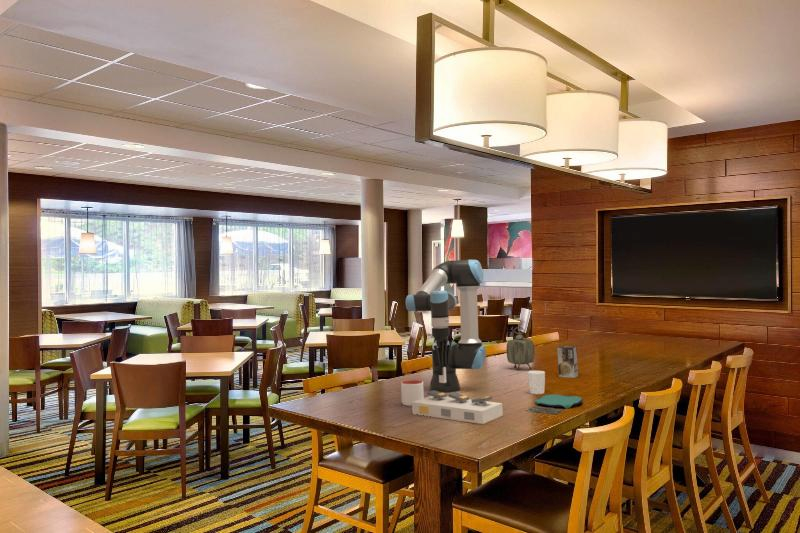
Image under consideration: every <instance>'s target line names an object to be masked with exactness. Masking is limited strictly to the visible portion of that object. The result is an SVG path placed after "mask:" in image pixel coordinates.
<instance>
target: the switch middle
mask: <svg viewBox="0 0 800 533" xmlns="http://www.w3.org/2000/svg"><path fill="white" fill-rule="evenodd" d="M448 397H450V398H453V399H456V400H459V401H461V402H464V401H467V400H469V399H470V396H467V395H465V394H462V393H459V392H456V391H453V392H451V393H448Z"/></svg>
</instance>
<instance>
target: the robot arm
mask: <svg viewBox="0 0 800 533" xmlns="http://www.w3.org/2000/svg"><path fill="white" fill-rule="evenodd" d="M483 282H484V271H483V267H482V264H481V262H480V261H479V260H477V259H458V260H457V259H456V260H455V259H454V260H447V261H443V262H441V263H439V264H437V265H436V266H435V267H433V268H432V270H431V271H430V272H429V274H428V278H427V279H426V280H425V282H424V283H423V284H422V286H420V288H419V289H418V290H417V292H416V293H415V294H409V295H407V296H406V297H405V309H406V310H407V311H409V312H415V313H417V312H430V314H431V316H430V317H431V318H430V320H431V322H430V324H431V327H432V328H431V337H433V344H431V345H430V347H429V348H430V349H431V358H432V360H431V362H432V375H431V376H432V377H431V379H430V384H429V390H430V391H431V390H432V391H433V390H435V391H438V392H442V393H450V392H449V391H452V392H456V391H460V390H461V384H460V381H459V378H458V375H457V370H472V371H473V370H480V369H482V368H483V367H484V364H485V360H486V357H487V356H486V355H487V354H486V353H487V351H486V350H487V349H486V346H485V345H483V343H482V340H481V339H480V338H479V315H478V311H479V310H478V308H479V307H478V290H479V288H480V287H481V284H482V283H483ZM448 284H454V285H455V284H456V285H455V286H456V289H458V290H459V311H460V313H459V314H460V340H459V341H458V342H457V344H458V345H456V343H455V342H453V341H449V338H448V337H449V336H450V327H449V326H450V318H449V317H450V316H449V314H450V313H449V312H450V311H452V310H453V309H455V308H456V306H457V303H458V302H457V301H458V300H457V297H456V296H455V295H454V294H452V293H449V292H448V291H447V290H440V289H441V288H442V287H444V286H445V285H448Z"/></svg>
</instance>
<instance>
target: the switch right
mask: <svg viewBox="0 0 800 533" xmlns="http://www.w3.org/2000/svg"><path fill="white" fill-rule="evenodd" d="M490 400H493V396H492V395H488V396H487V395H486V396H481V397H475V398H473V399H471V401H472V403H477V402H485V401H488V402H490Z"/></svg>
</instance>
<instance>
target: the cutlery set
mask: <svg viewBox="0 0 800 533" xmlns="http://www.w3.org/2000/svg"><path fill="white" fill-rule="evenodd" d="M583 400H584V399H583V398H582V397H580V396H576V395H575V396H573V395H565V394H547V395H543V396H540V397H537V398H536V399H535V400H534V403H535V404H537V405H538V406H531V407H528V409H526V410H524V411H525V412H530V413H541V414H546V415H547V414H549V415H557V416H558V415H559V413H561V412H565V409H567V410H568V409H570V408H571V407H572V406H577V405H579V404H581V403H583ZM539 405H542V406H539ZM543 406H546V407H543ZM554 407H556V408H554ZM557 407H562V408H563V407H564V408H565V409H557Z"/></svg>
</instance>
